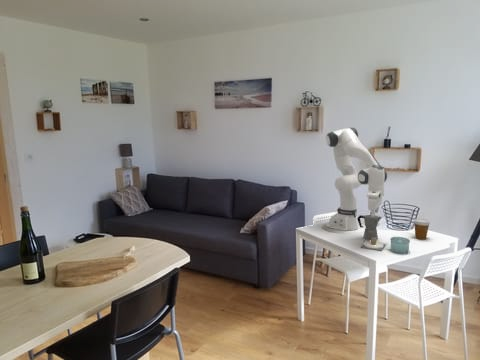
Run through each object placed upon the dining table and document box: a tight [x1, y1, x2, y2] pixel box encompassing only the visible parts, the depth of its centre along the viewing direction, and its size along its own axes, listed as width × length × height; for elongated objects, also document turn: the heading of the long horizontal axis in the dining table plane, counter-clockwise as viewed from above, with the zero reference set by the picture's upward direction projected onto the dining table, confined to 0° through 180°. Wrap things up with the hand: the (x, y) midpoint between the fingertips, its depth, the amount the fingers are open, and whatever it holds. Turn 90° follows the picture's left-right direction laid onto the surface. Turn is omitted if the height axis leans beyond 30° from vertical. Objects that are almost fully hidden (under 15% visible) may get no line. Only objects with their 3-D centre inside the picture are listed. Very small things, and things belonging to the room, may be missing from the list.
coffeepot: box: [356, 211, 383, 241], centre depth 233 cm, size 15×9×18 cm, turn 80°
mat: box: [360, 240, 386, 252], centre depth 220 cm, size 12×12×1 cm
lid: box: [363, 237, 385, 249], centre depth 219 cm, size 12×12×5 cm
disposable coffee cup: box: [413, 218, 431, 241], centre depth 232 cm, size 10×10×12 cm
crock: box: [389, 236, 411, 255], centre depth 211 cm, size 11×11×7 cm
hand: (374, 214), depth 216 cm, fingers open, 8 cm apart
